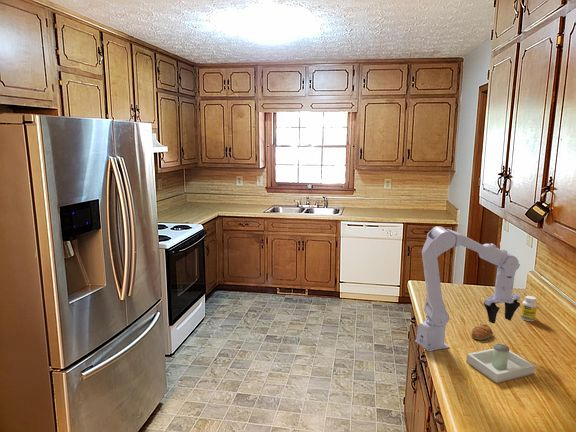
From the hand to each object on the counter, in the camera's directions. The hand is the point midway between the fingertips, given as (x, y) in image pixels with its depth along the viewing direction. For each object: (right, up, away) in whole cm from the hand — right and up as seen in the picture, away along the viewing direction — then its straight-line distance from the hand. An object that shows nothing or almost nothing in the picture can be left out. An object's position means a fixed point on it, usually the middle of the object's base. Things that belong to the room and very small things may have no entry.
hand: (499, 320), depth 152 cm
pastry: (-2, -9, +10) cm, 13 cm away
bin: (-7, -13, -13) cm, 19 cm away
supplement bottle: (+25, -6, +25) cm, 35 cm away
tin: (-7, -12, -13) cm, 19 cm away
